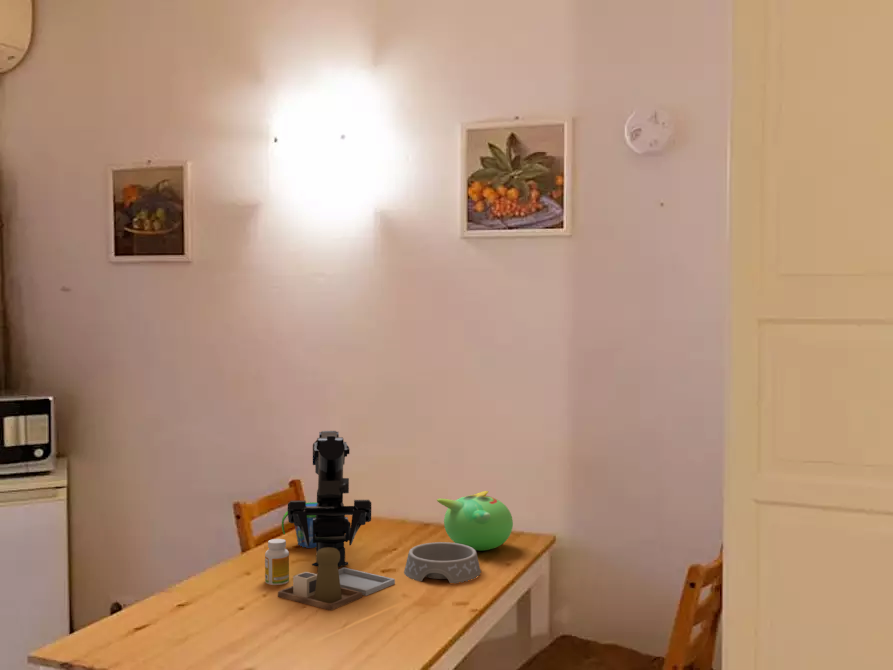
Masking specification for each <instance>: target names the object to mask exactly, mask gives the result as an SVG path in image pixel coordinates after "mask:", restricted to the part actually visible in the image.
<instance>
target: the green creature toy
mask: <svg viewBox="0 0 893 670" xmlns="http://www.w3.org/2000/svg"><path fill="white" fill-rule="evenodd" d="M487 494H489V491H488V490H482V491H480V492H478V493H475V494H469V495H465V496H461V497H460V498H457V499H456V500H455V499H447V498H437V499H436V501H437V503H439V504H441V505H442V506H443V507H446V508H447V509H446V512H445V513H444V518H443V524H444V529H445V533H446V534H447V536H448V537H449V539H451V541H453V543H458V544H463V545H467V546H470V547H472V548H473V549H475V551H476V552H477V551H478V552H479V551H480V552H481V551H489V550H494V549H496V548H498V547H500V546H501V545H503V544H504V543H505V542H506V541H507V540H508V539H509V538H510V535H511V534H512V531H513V525H514V521H513V520H514V519H513V516H512V513H511V512H510V510H509V508H508V507H507V506H506V504H505V503H503V502H502V501H500V500H499V499H497V498H496V497H492V496H489V495H487Z"/></svg>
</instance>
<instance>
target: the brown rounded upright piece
mask: <svg viewBox="0 0 893 670" xmlns="http://www.w3.org/2000/svg"><path fill="white" fill-rule="evenodd" d="M315 561H317V563H318V564H319V565H318V567H317V573H316V574H317V580H316V588H315V596H314V600H317V601H321V602H325V603H334V602H336V601H339V600H341V599H342V594H341V587H340V579H339V571H338V569H339V567H338V562H339V561H340V552H339V551H338V550H337V549H336V548H331V547H327V548H321V549H319V550H318V551H317V553H315Z"/></svg>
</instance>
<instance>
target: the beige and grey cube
mask: <svg viewBox="0 0 893 670" xmlns="http://www.w3.org/2000/svg"><path fill="white" fill-rule="evenodd" d="M292 579H293V580H292V581H293V582H292V583H293V584H292V586H293V594H295V595H299V596H303V597H306V598H307V597H310V596H312V595H315V588H316V580H317V573H314V572H309V571H303V572H301V573H297V574H295V575H293V576H292Z"/></svg>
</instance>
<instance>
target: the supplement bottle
mask: <svg viewBox="0 0 893 670" xmlns="http://www.w3.org/2000/svg"><path fill="white" fill-rule="evenodd" d="M286 545H287V542H286V539H283V538H272V539H270V540H268V542H267V548H268V549H267V550H266V551H265V553H264V577H265V578H264V580H265V581H264V583H265V584H268V585H272V586H277V585H278V586H279V585H285V584H288V583H289V581H290V552H289V550H288V549H287V548H286V547H287V546H286Z"/></svg>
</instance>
